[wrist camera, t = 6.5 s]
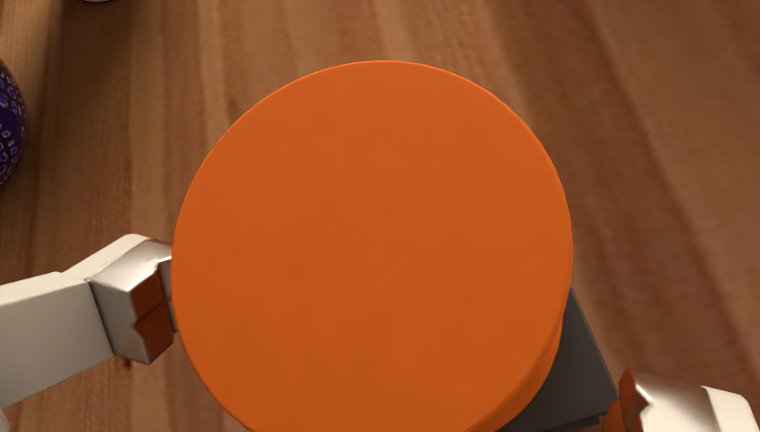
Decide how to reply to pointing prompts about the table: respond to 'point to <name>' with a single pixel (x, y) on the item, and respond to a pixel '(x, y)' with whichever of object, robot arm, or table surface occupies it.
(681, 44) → the table surface
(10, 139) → the planter
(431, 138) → the hat
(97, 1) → the mug
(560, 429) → the grey square pedestal
